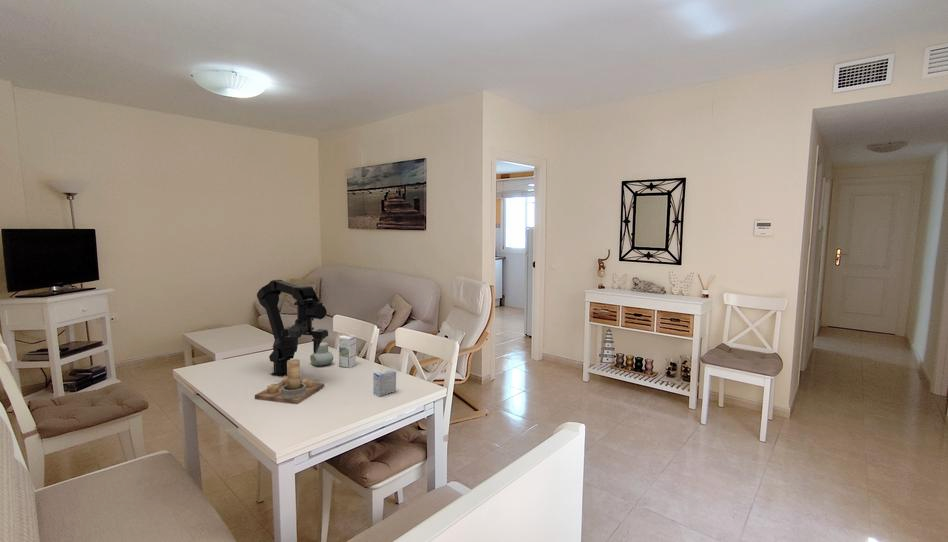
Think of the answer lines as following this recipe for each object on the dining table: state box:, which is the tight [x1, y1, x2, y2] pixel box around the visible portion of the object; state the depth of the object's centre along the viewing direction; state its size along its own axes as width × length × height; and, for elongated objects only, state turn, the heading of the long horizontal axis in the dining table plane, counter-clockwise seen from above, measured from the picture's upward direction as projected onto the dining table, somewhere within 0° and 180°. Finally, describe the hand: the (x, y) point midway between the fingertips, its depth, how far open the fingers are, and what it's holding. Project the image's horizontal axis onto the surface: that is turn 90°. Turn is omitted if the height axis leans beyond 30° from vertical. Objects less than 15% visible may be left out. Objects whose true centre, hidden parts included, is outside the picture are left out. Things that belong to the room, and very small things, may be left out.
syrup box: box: [338, 334, 357, 369], centre depth 204 cm, size 6×6×14 cm
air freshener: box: [309, 341, 334, 367], centre depth 206 cm, size 11×8×10 cm
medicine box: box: [372, 368, 397, 397], centre depth 171 cm, size 8×4×9 cm, turn 135°
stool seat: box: [254, 376, 325, 405], centre depth 169 cm, size 18×18×4 cm
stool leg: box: [286, 358, 301, 390], centre depth 163 cm, size 4×4×13 cm
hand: (305, 352), depth 182 cm, fingers open, 9 cm apart
